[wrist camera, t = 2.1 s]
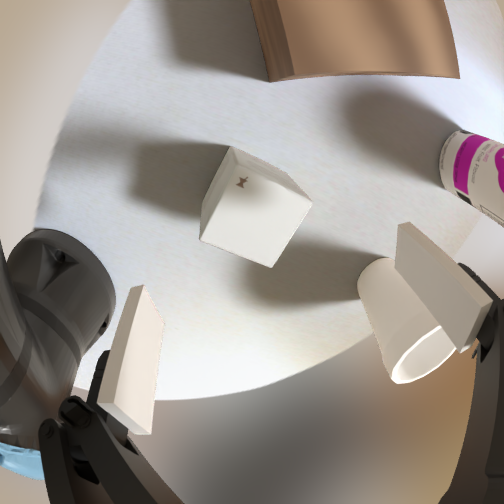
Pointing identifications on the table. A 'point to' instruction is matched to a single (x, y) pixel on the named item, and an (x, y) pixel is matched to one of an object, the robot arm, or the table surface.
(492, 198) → the supplement can
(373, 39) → the walnut block
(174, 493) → the robot arm
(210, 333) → the table surface
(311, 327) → the table surface
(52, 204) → the table surface
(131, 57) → the table surface
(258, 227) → the product box
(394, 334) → the foam cup
